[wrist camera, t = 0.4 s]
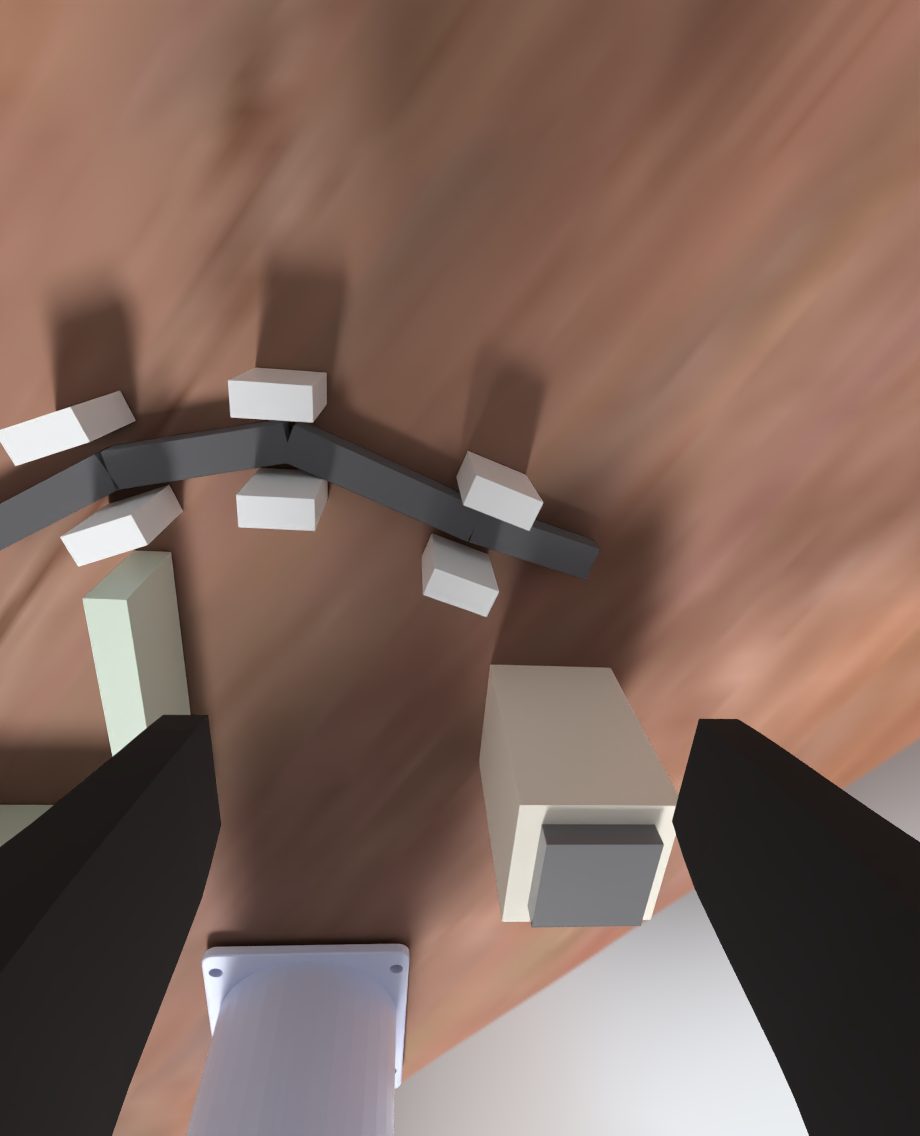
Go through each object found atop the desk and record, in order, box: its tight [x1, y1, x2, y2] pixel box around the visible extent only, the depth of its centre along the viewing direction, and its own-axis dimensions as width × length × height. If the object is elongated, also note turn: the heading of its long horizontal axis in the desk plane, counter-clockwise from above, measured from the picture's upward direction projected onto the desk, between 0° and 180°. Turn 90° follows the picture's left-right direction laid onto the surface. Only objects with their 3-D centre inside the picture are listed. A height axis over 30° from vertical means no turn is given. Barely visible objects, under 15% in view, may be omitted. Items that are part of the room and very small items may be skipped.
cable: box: [0, 420, 600, 580], centre depth 17 cm, size 4×17×1 cm, turn 86°
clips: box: [0, 368, 544, 617], centre depth 16 cm, size 6×12×2 cm, turn 86°
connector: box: [479, 665, 679, 928], centre depth 18 cm, size 4×4×7 cm
